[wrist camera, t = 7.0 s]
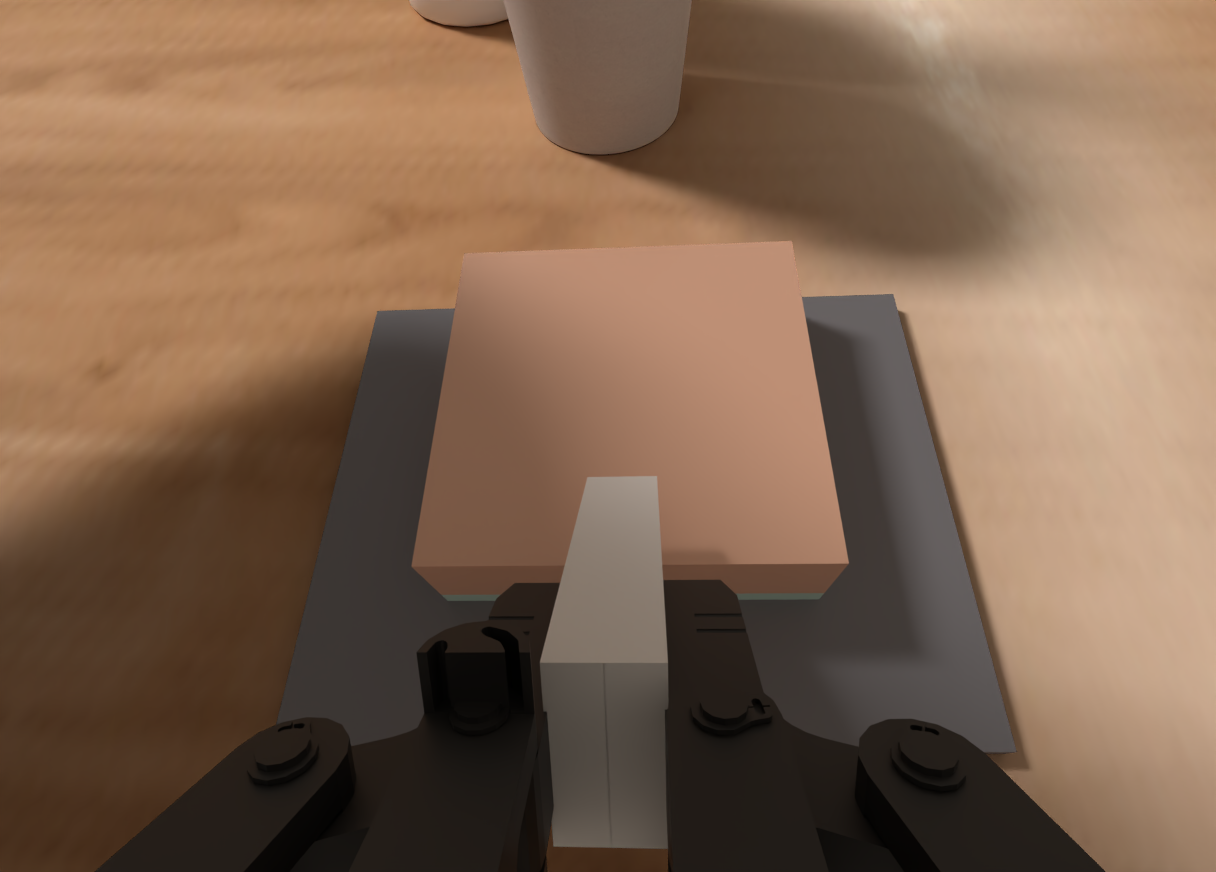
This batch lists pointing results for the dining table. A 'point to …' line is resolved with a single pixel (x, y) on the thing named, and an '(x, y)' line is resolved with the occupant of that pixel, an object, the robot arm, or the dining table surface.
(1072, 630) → the dining table surface
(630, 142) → the coffee cup
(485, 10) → the bottle
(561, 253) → the tile
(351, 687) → the mat
